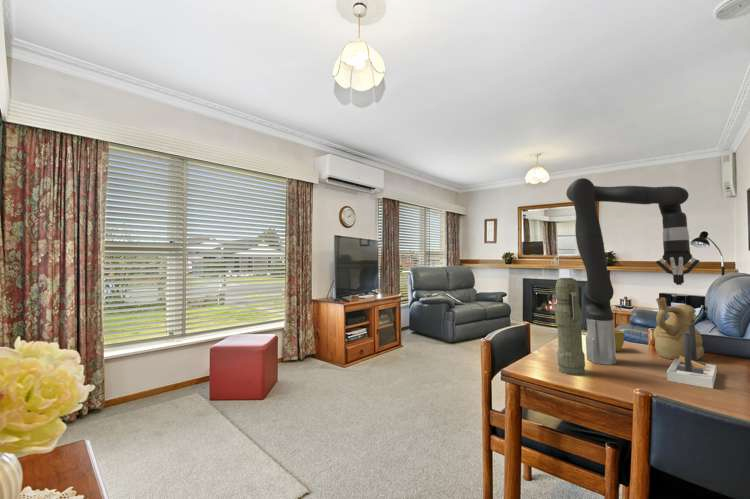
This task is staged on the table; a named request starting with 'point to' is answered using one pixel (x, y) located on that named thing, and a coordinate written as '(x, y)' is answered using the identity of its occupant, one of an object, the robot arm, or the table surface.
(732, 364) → the table surface
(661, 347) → the ceramic vessel
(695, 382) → the breaker board
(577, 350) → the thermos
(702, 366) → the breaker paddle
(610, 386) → the table surface
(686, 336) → the dark grey peg
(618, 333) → the flower pot
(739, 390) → the table surface
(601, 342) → the robot arm
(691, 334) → the dark grey rod
